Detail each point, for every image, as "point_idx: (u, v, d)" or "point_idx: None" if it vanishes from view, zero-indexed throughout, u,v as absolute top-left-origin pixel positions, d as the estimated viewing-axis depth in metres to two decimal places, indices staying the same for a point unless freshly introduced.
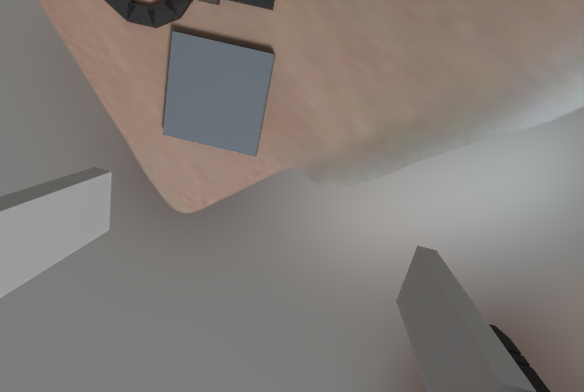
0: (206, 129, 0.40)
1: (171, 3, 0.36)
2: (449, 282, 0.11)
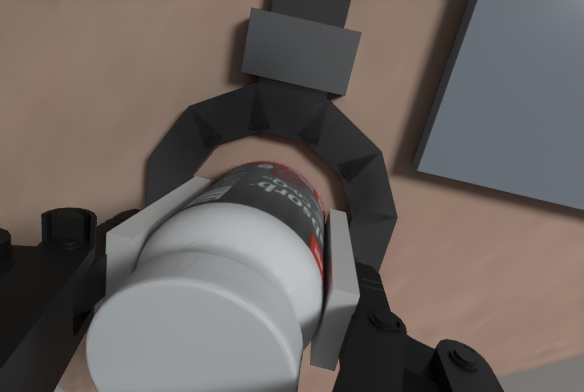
0: None
1: (349, 165, 0.14)
2: (340, 232, 0.13)
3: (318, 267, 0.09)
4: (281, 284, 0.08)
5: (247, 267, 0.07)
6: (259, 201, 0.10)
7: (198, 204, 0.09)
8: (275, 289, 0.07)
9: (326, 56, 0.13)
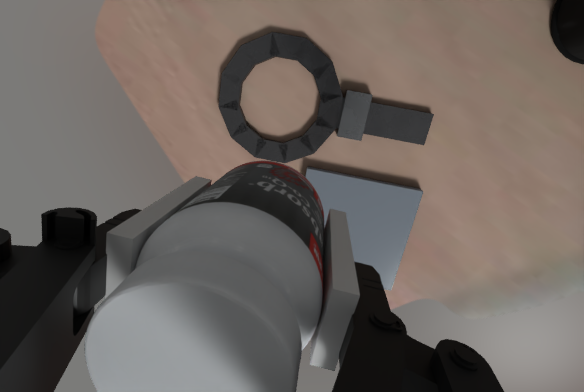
0: None
1: (307, 140, 0.33)
2: (340, 232, 0.13)
3: (317, 266, 0.09)
4: (280, 283, 0.08)
5: (246, 266, 0.07)
6: (258, 200, 0.10)
7: (197, 204, 0.09)
8: (274, 288, 0.07)
9: (352, 127, 0.31)
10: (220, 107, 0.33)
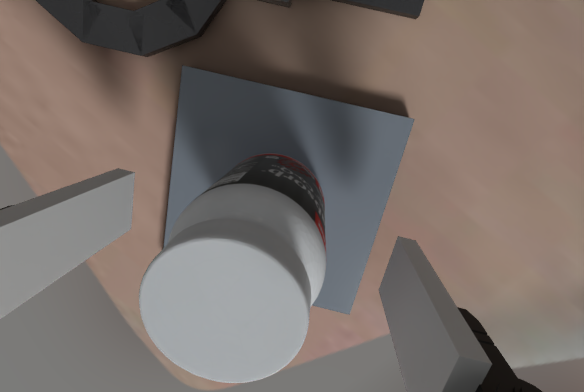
0: None
1: (181, 3, 0.16)
2: (424, 269, 0.11)
3: (321, 237, 0.11)
4: (292, 248, 0.10)
5: (267, 230, 0.09)
6: (272, 183, 0.11)
7: (221, 185, 0.11)
8: (289, 248, 0.09)
9: None
10: None
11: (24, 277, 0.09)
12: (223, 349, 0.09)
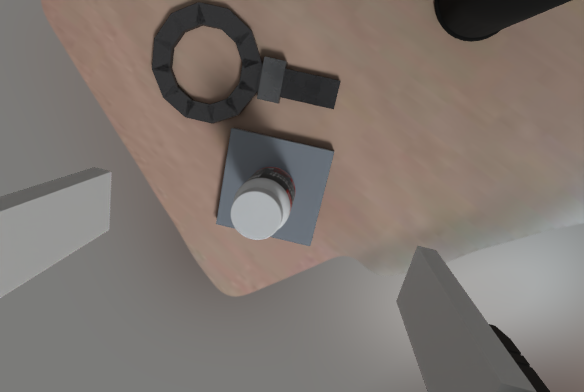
0: None
1: (231, 102, 0.36)
2: (449, 282, 0.11)
3: (288, 197, 0.31)
4: (277, 198, 0.30)
5: (269, 190, 0.29)
6: (271, 177, 0.32)
7: (253, 178, 0.31)
8: (276, 196, 0.29)
9: (270, 90, 0.35)
10: (153, 69, 0.36)
11: None
12: (255, 227, 0.29)
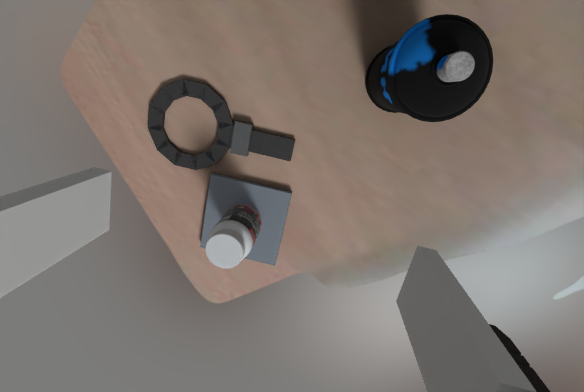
0: None
1: (210, 154, 0.46)
2: (449, 282, 0.11)
3: (251, 234, 0.41)
4: (241, 236, 0.40)
5: (234, 232, 0.39)
6: (237, 219, 0.42)
7: (223, 220, 0.41)
8: (239, 236, 0.39)
9: (240, 146, 0.45)
10: (149, 128, 0.46)
11: None
12: (224, 259, 0.39)
